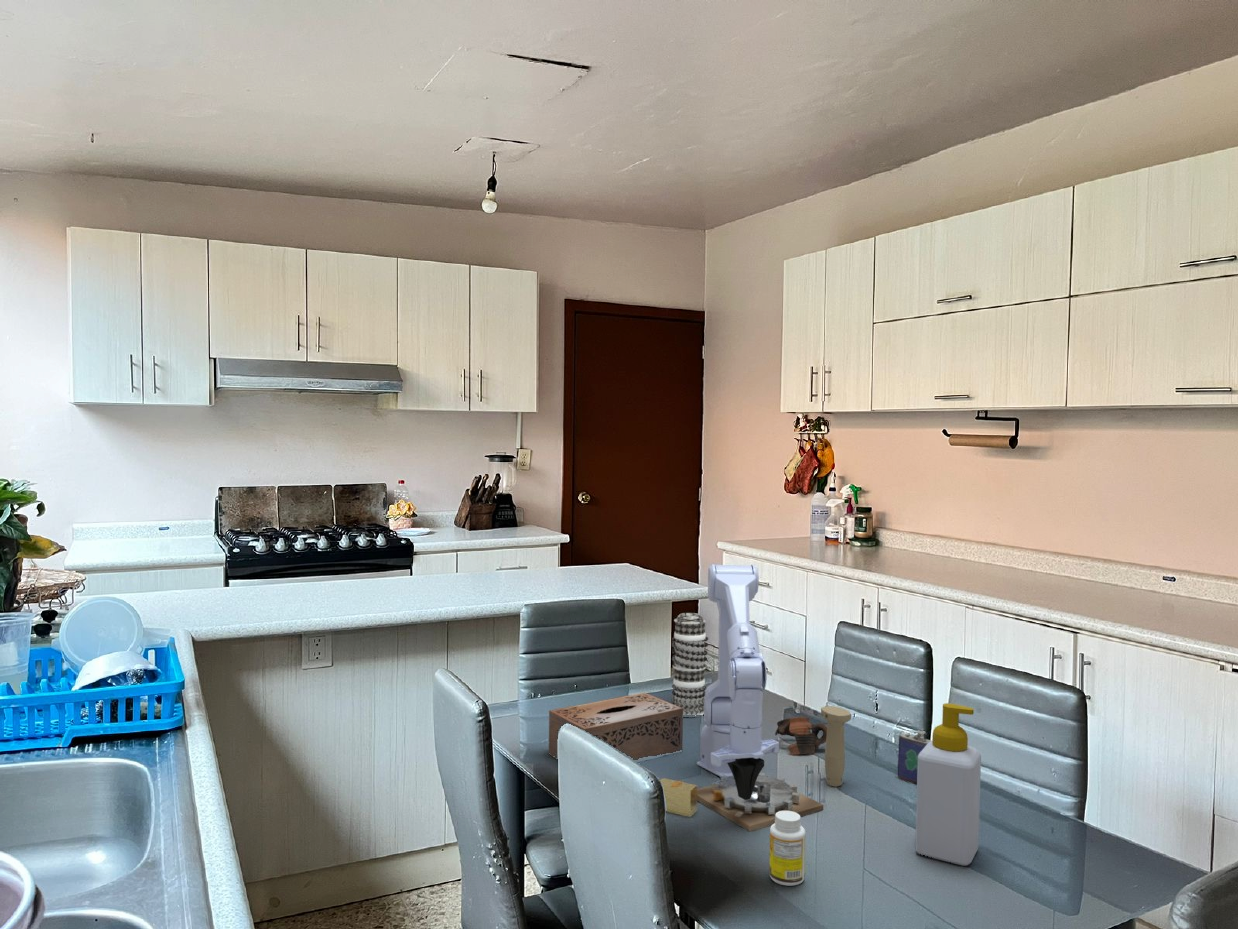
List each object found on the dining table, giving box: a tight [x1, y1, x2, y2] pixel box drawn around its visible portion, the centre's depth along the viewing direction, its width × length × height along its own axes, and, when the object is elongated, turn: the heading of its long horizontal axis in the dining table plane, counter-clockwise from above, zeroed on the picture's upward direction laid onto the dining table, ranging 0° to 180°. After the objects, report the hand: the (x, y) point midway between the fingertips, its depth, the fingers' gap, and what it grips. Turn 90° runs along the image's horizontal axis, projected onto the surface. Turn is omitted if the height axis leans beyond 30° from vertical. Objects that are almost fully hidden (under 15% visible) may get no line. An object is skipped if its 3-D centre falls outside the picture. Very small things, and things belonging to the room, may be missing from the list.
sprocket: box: [711, 772, 801, 815], centre depth 172 cm, size 16×16×4 cm
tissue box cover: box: [548, 692, 684, 760], centre depth 197 cm, size 26×14×10 cm, turn 125°
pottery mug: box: [774, 716, 827, 756], centre depth 202 cm, size 12×10×8 cm
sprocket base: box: [697, 784, 824, 832], centre depth 172 cm, size 18×18×1 cm
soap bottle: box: [914, 702, 982, 866], centre depth 152 cm, size 9×9×25 cm
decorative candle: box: [671, 612, 709, 716], centre depth 226 cm, size 9×9×25 cm
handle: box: [820, 705, 852, 788], centre depth 181 cm, size 5×6×15 cm
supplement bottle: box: [769, 811, 806, 887], centre depth 142 cm, size 6×6×10 cm
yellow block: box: [660, 778, 698, 818], centre depth 168 cm, size 7×3×5 cm, turn 62°
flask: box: [897, 730, 932, 785], centre depth 183 cm, size 9×3×11 cm, turn 50°
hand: (744, 797), depth 163 cm, fingers closed
